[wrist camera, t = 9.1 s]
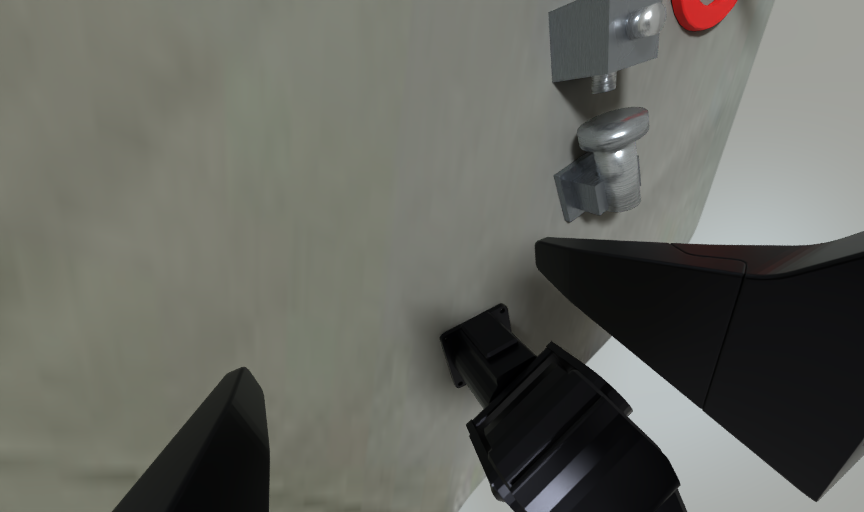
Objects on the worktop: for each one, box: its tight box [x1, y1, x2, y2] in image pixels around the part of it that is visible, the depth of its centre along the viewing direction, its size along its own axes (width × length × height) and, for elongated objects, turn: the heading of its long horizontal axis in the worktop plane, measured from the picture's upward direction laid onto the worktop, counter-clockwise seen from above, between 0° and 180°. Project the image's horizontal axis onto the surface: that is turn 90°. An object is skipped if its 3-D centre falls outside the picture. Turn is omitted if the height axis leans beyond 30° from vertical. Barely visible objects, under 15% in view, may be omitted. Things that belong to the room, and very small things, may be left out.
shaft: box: [554, 107, 649, 222], centre depth 23 cm, size 7×6×5 cm
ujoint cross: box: [548, 0, 666, 94], centre depth 19 cm, size 6×4×6 cm, turn 16°
